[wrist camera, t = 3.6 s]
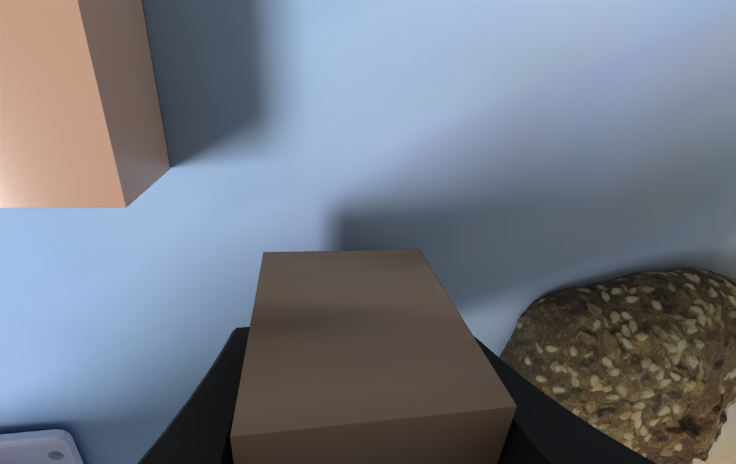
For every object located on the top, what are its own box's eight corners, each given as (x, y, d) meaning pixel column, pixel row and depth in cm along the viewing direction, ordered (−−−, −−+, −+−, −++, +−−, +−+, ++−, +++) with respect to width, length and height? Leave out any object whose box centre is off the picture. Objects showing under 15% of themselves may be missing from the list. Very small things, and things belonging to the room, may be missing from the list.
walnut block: (403, 362, 13) (467, 551, 8) (270, 372, 12) (251, 590, 7) (419, 249, 11) (516, 406, 6) (263, 252, 10) (229, 436, 5)
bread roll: (516, 263, 15) (611, 354, 10) (762, 255, 17) (928, 327, 12) (461, 464, 20) (507, 580, 16) (652, 438, 22) (739, 533, 18)
